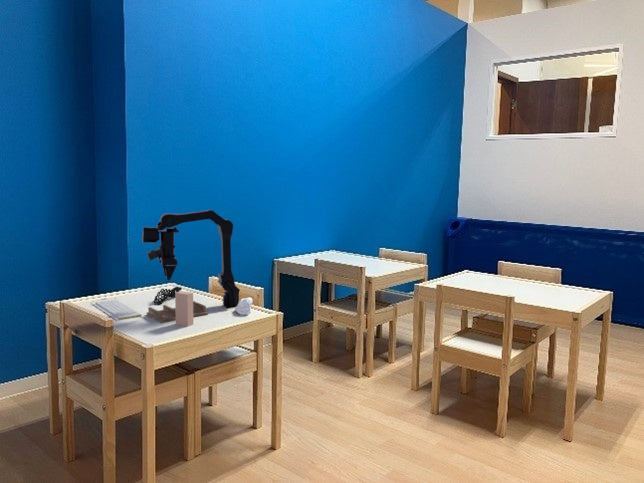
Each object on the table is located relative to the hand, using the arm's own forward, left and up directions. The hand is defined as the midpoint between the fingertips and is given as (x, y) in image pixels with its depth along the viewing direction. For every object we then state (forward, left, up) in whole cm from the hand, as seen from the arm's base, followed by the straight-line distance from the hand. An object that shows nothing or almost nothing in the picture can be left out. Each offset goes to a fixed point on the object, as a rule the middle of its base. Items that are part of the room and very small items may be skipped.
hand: (167, 278), depth 236 cm
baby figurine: (-31, +11, -15) cm, 36 cm away
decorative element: (-2, -21, -15) cm, 26 cm away
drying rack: (-3, +8, -15) cm, 17 cm away
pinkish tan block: (-4, +23, -15) cm, 28 cm away
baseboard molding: (+22, -7, -15) cm, 28 cm away
